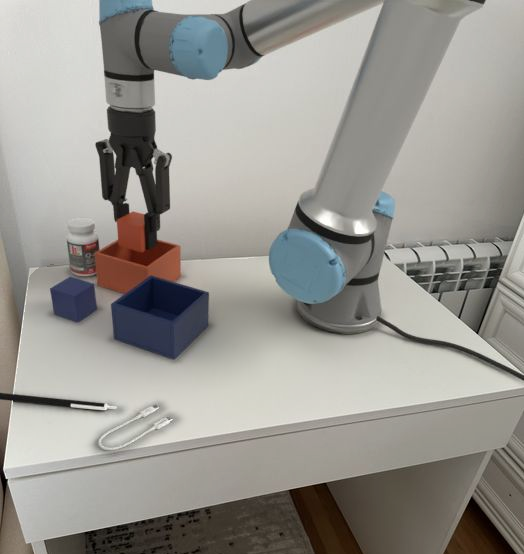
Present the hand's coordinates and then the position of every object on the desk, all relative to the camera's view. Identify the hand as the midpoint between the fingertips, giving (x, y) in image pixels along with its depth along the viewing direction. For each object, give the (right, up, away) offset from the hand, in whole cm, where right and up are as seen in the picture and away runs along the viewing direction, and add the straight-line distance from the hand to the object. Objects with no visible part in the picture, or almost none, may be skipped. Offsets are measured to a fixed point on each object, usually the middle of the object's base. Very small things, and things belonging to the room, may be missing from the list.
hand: (138, 242), depth 98 cm
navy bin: (+6, -17, -9) cm, 20 cm away
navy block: (-9, -13, -6) cm, 17 cm away
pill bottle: (-11, -4, +6) cm, 14 cm away
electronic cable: (+6, -30, -29) cm, 42 cm away
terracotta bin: (-1, -6, +4) cm, 8 cm away
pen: (-6, -26, -25) cm, 37 cm away
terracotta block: (0, 0, 0) cm, 0 cm away
